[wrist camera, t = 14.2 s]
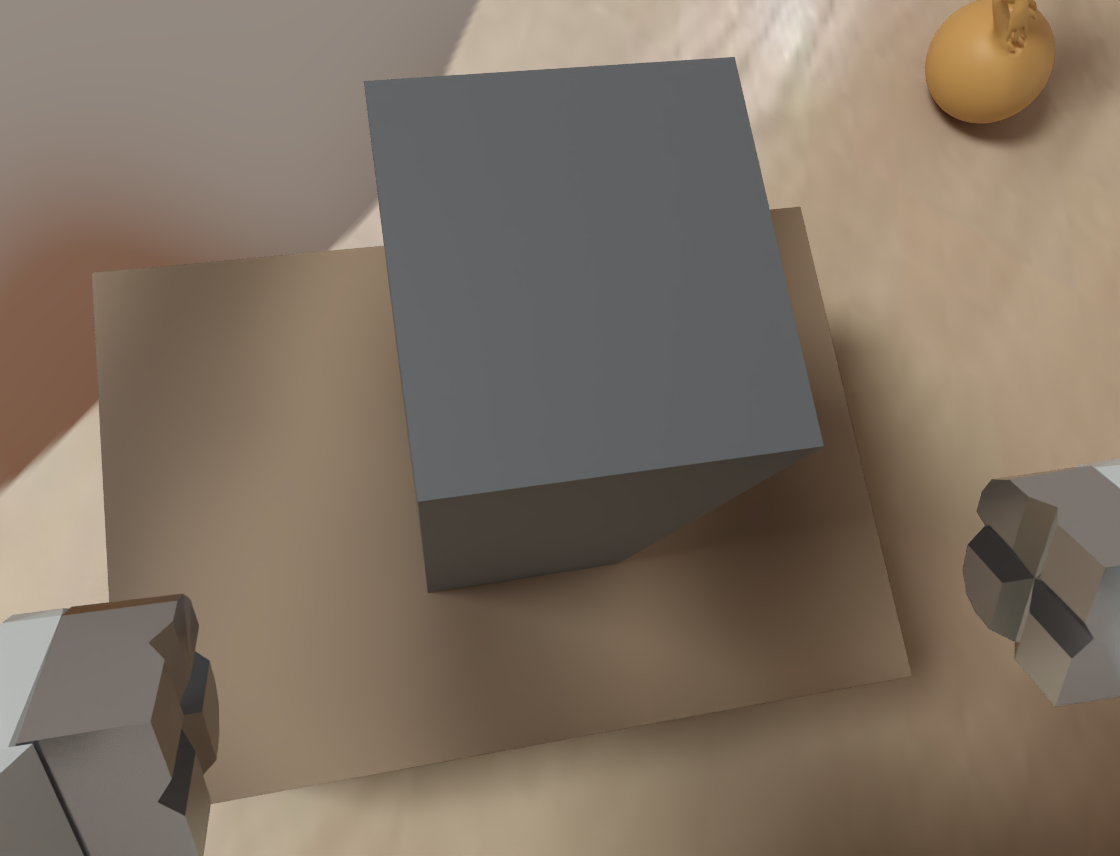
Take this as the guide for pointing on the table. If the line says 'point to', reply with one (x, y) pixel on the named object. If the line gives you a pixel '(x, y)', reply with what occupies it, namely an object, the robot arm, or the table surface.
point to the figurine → (990, 60)
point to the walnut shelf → (396, 551)
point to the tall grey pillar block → (581, 310)
